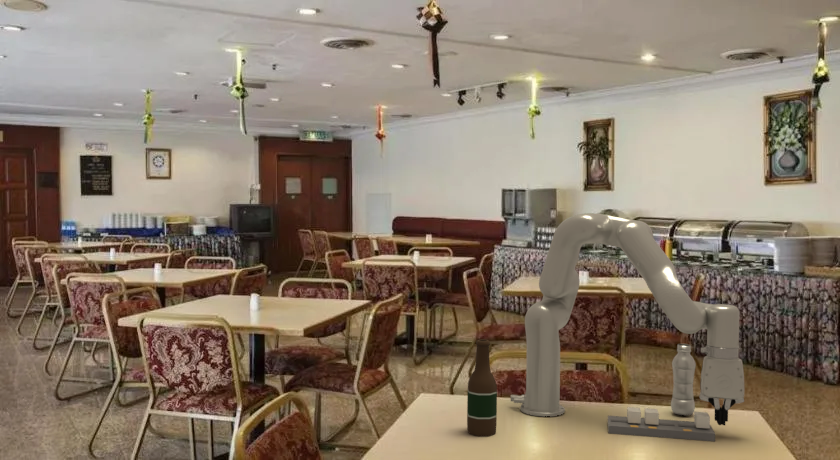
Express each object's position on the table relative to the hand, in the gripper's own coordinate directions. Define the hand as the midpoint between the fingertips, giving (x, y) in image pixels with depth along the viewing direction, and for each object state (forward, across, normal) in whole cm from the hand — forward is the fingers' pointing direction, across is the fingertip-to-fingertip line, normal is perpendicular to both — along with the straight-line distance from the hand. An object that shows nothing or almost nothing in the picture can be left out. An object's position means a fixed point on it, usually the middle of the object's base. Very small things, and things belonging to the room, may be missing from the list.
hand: (721, 423), depth 191 cm
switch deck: (+3, -15, 0) cm, 16 cm away
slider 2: (+1, -17, 0) cm, 17 cm away
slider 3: (+1, -5, 0) cm, 5 cm away
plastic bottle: (+4, -7, +19) cm, 21 cm away
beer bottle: (+4, -60, -13) cm, 62 cm away
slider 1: (+1, -22, 0) cm, 22 cm away
